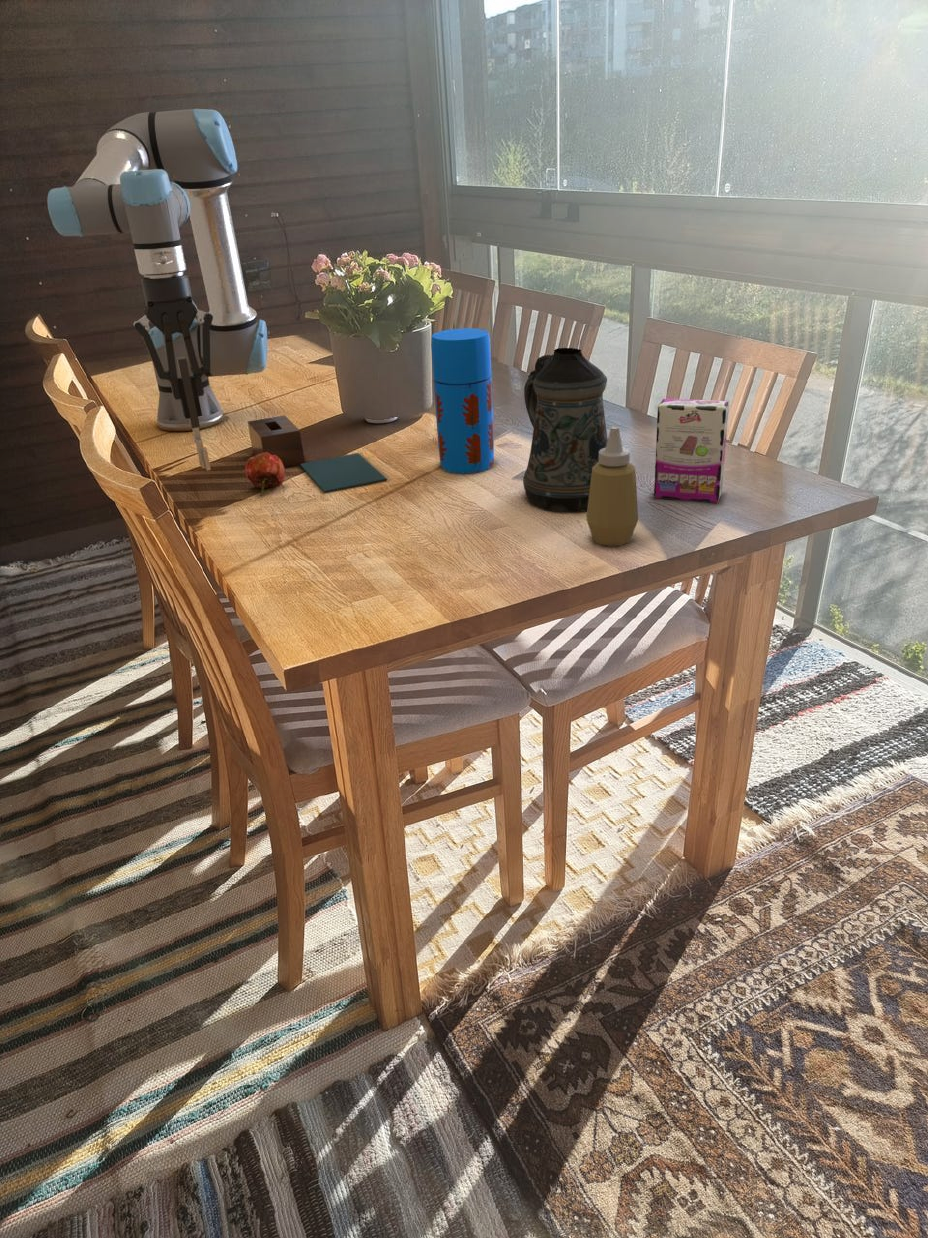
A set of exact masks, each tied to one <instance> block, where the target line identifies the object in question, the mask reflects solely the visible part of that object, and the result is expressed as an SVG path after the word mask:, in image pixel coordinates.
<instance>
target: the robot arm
mask: <svg viewBox="0 0 928 1238" xmlns="http://www.w3.org/2000/svg"><path fill="white" fill-rule="evenodd" d="M237 172H238V160H237V157H236V150H235V146H234V143H233V139H232V136H231V133H230V131H229V128H228V126H227V123H226V121H225V119H224V117H223V115H222V114H221V113H220V112H219V111H217V110H215V109H211V108H210V109H208V108H207V109H206V108H189V109H177V110H176V109H175V110H165V111H153V112H152V111H147V112H145V111H144V112H140V113H136V114H134V115H131V116H129V117H127V118H124V119H123V120H121V121H119V122H117V123H116V124H114V125H113V126H111V127H110V128H108V130H107V131H106V132H104V134H103V135H102V136H101V137H100V138H99V140H98V143H97V145H96V154H95V156H94V158H93V159H92V160H91V162H89V164H88V166H87V167H86V168H85V170H84V171H83V173H82V174H81V175H80V177H78V179H77V180H76V181H75V183H74V185H73V186H66V185H63V186H62V187H56V188H55V187H54V188H52V189H50V190H49V191H48V194H47V201H46V202H47V208H48V210H47V211H48V214H49V217H50V221H51V222H52V225H53V227H54V229H55V231H57V233H58V234H59V235H61V236H63V237H80V238H83V237H90V236H104V235H115V234H130V236H131V239H132V244H133V250H134V254H135V259H136V263H137V268H138V273H139V274H140V275H141V276H143V277H142V278H141V281H140V282H141V286H142V291H143V296H144V301H145V304H146V305H145V310H144V315H143V316H142V317H140V318H139V319H138V320H134V321H133V327H134V328H135V331H137V332H138V333H139V335H141V337H142V339H143V343H144V345H145V347H146V350H147V353H148V355H149V357H150V359H151V362H152V366H153V370H154V375H155V379H156V384H157V387H158V392H159V393H158V394H159V396H158V405H157V408H158V409H157V416H156V421H157V425H158V428H159V429H160V430H163V431H167V432H190V431H193V430H192V427H191V426H190V422H189V418H190V414H189V410H188V405H187V400H186V395H185V390H184V385H183V381H182V380H181V378H180V374H179V369H178V364H177V359H176V357H182V356H184V357H185V358H186V360H187V365H188V370H189V375H190V380H191V385H192V390H193V395H194V400H195V405H196V410H197V415H198V419H199V424H200V427H199V430H203V429H206V428H209V427H213V426H216V425H218V424H220V423H222V422H223V421H224V420H225V417H224V411H223V409H222V406H221V405H220V402H219V401H218V399H217V397H216V395H215V393H214V391H213V390H212V388H211V385H210V380H209V378H211V377H213V378H214V377H223V376H241V375H243V376H244V375H245V376H247V375H252V374H258V373H262V372H263V371H265V369H266V368H267V363H268V328H267V322H266V321H265V320H263V319H261V318H260V319H258V314H257V313H258V312H257V311H256V310H255V308H253V307H251V306H250V305H249V302H248V297H247V291H246V286H245V280H244V276H243V275H244V274H243V269H242V265H241V260H240V254H239V249H238V243H237V238H236V232H235V228H234V222H233V217H232V212H231V206H230V202H229V201H230V200H229V195H228V190H229V189H230V187H231V185H232V184H233V178H232V175H234V174H235V173H237ZM170 178H173V181H174V182H173V181H170ZM188 218H189V220H190V225H191V230H192V234H193V238H194V243H195V244H194V245H195V247H196V253H197V257H198V262H199V266H200V271H201V275H202V280H203V284H204V288H205V294H206V299H207V303H208V308H209V311H204V310H201V309H199V308H198V306H197V304H196V303H195V302H194V299H193V295H192V289H191V285H190V284H191V283H190V280H189V276H188V275H187V274H186V273H184V272H185V271H187V265H186V260H185V255H184V250H183V245H182V239H181V235H180V228H181V227H182V226H184V224H185V223H186V222H187V220H188ZM196 317H197V318H196ZM150 323H151V324H152V325H153V327H152V328H151V327H150Z"/></svg>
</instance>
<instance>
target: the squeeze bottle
mask: <svg viewBox="0 0 928 1238" xmlns="http://www.w3.org/2000/svg"><path fill="white" fill-rule="evenodd" d="M607 437H608V441H607V445H606V448H603V449H601V450H600V451H599V462H598V463H597V464H596V465H594V466H593V467H592V475H591V483H590V491H589V500H588V508H587V511H586V523H587V525H588V528H589V532H590V535H591V537H592V540H593V541H594V542H595V543H596V544H600V545H603V546H611V547H613V546H615V547H616V546H620V545H624V544H625V545H626V544H627V543H629V542H630V540H631V539H632V537H633V534H634V531H635V529H636V527H637V524H638V522H639V506H638V494H637V493H638V491H637V490H638V489H637V475H636V466H635V465H634V464H632V463H631V462H630V458H631V457H630V456H631V451H630V450H629V449H628V448H625V447H623V442H622V436H621V431H620V427H619V426H611V427H610V430H609V434H608V436H607Z"/></svg>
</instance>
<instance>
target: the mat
mask: <svg viewBox="0 0 928 1238" xmlns="http://www.w3.org/2000/svg"><path fill="white" fill-rule="evenodd" d="M299 466H300V468H302V470H303V471H304V472H305V473H306V475H308V476H309V478H310V479H311V480H312V481H313V482H314V484H316V485H317V487H318V488H319V489H320V490H321V491H322V493H324V494H327V493H330V492H336V491H341V490H342V491H343V490H346V489H351V488H355V487H361V486H367V485H371V484H376V483H377V484H378V483H381V482H387V481H388V479H387V477H385V475H384V474H382V473H381V472H380V471H379V470H378V469H377V468H376V467H374V466H373V465H372V464H371V463H370V462H369V461H368V460H366V459H365V458H364V457H363V456H362V455H361V454H359V452H355V453H352V454H345V455H341V456H335V457H329V458H325V459H318V460H314V461H308V462H305V463H302V464H300V465H299Z"/></svg>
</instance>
